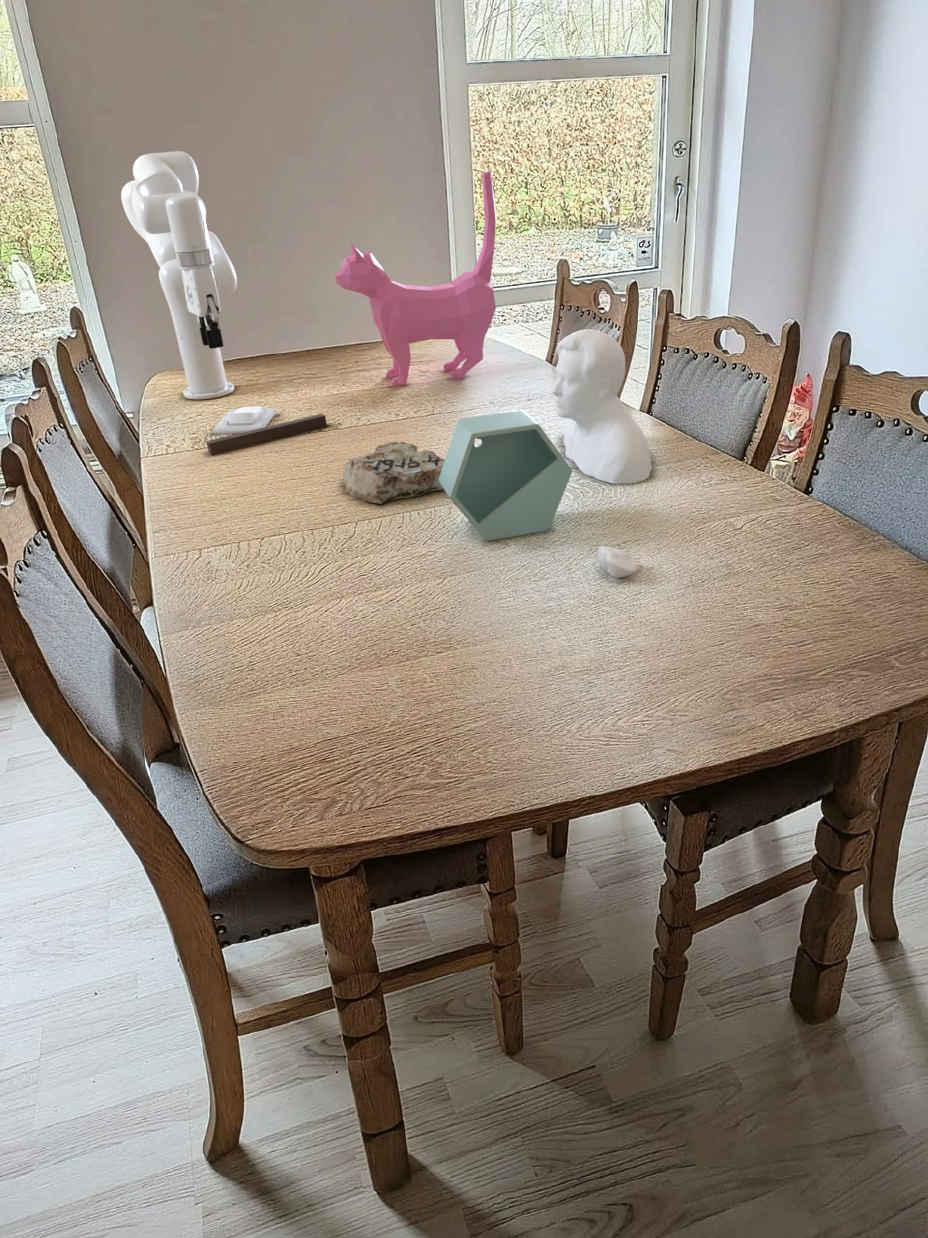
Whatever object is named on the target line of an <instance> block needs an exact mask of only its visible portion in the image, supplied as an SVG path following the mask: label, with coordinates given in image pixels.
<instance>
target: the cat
mask: <svg viewBox="0 0 928 1238" xmlns="http://www.w3.org/2000/svg"><path fill="white" fill-rule="evenodd" d="M481 181H482V196H483V197H482V198H483V213H484V227H483V237H482V247H481V250H480V252H479V256H478V259H477V261H476V264H475V266H474V268H473V270H472V271H465V272H463V273H461V274H459V276H457V277H456V278H454V279H453V280H451V281H450V282H448V283H442V284H437V285H430V286H423V285H411V284H402V283H399V282H396V281H394V280H391V278H390V277H389V276H388V274H387V273H386V271H385V270H384V269H383V267H382V266H381V264H380V263H379V262H378V260H377V259H376V258H375V256H374V255H373V253H372V252H369V251H366V252H361V251H360V250H359V249H358V248H356V246H355V245H353V243H352V242H350V250H351V255H348V256H345V257H344V258H343V261H342V263H341V267H340V269H339V270H338V272H337V273H336V274H335V275H334V279H335V282H336V284H337V285H338V286H339V287H340V288H342V289H344V290H347V291H351V292H354V293H359V294H362V295H364V296H365V297H367V298H368V300H369V304H370V309H371V314H372V319H373V322H374V324H375V326H376V328H377V330H378V331H379V334H380V336H381V339H382V342H383V345H384V347H385V350H386V352H388V354H389V355H390V356H391V358H392V359H393V363H392V364H393V365H392V368H389V369H387V371H386V373H385V378H386V379H391V382H390V387H398V386H399V387H400V386H407V385H408V384H407V383H408V377H409V372H410V371H409V370H410V365H411V359H412V356H411V349H410V344H413V343H419V342H425V341H430V340H453V341H454V344H455V347H456V349H457V351H458V353H457V354H456V356H455V357H454V358H453V360H450V361H447V362H445V363H444V364H442V368H443V371H444V373H445V372H446V373H447V372H450V379H451V380H452V381H453V380H463V379H464V378H465V377H466V375H467V374H468V373H469V371H470V370H472V369H473V368H474V367H476V365H478V364H479V363H480V362H482V361H483V360H484V350H483V348H484V344H485V337H486V335H487V333H488V331H489V329H490V326H491V324H492V321H493V318H494V316H495V312H496V309H497V307H496V306H497V305H496V299H495V294H494V293H495V292H494V287H493V286H492V283H491V278H492V269H493V261H494V253H495V240H496V229H497V212H496V211H497V210H496V204H495V196H494V188H493V179H492V172H491V170H487V171H485V172H482V174H481ZM461 363H463V364H462V366H461V367H460V368H458V367H459V366H460V364H461Z"/></svg>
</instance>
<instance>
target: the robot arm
mask: <svg viewBox="0 0 928 1238" xmlns="http://www.w3.org/2000/svg"><path fill="white" fill-rule="evenodd" d="M132 175H133V178H134V180H131V181H128V182H127V183H126V184H124V186H123V187H122V189H121V191H120V194H121V195H120V198H121V203H122V207H123V210H124V213H125V215H126V217H127V219H128V221H129V223H130V224H131V225H132V227H133V229H134V231H135V232H136V233H137V234H138V235H139V236H140V237H141V238H142V239H143V240H144V241H145V242H146V243H147V245H148V247H149V249H150V251H151V253H152V255H153V258H154V259H155V261H156V264H157V265H158V267H159V270H158V278H159V283H160V286H161V289H162V291H163V294H164V296H165V299H166V302H167V305H168V307H169V310H170V315H171V319H172V322H173V326H174V331H175V336H176V339H177V343H178V349H179V354H180V358H181V362H182V366H183V370H184V375H185V380H186V382H187V387H186V388H184V389H183V391H182V395H183V397H184V398H186V399H190V400H209V399H210V400H211V399H215V398H220V397H224V396H227V395H229V394H231V393H232V392H234V391H235V384H234V383H232V382H230V381H227V376H226V371H225V367H224V362H223V357H222V352H221V348H222V347H224V341H223V336H222V331H221V326H220V316H219V315H220V314H221V311H222V307H221V302H220V298H222V297H227V296H230V295H233V293H235V292H236V290H237V287H238V277H237V273H236V270H235V267H234V265H233V263H232V261H231V259H230V256H229V255H228V253H227V251H226V250H225V248H224V247H223V245H222V243H221V241H220V239H219V237H218V236H217V235H216V234H215V233H214V232H212V231H210V230H208V225H207V221H206V220H207V209H206V206H205V205H206V204H205V202H204V201H203V199H202V198H201V197H200V196H199V195H198V193H199V186H200V177H199V171H198V167H197V164H196V162H195V161H194V159H193V157H191V155H190V154H189V153H187V152H185V151H183V150H182V151H180V150H177V151H165V152H164V151H163V152H151V153H145V154H143V155H140V156H139V157H138V158H136V160H134V163H133V166H132Z"/></svg>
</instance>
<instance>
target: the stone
mask: <svg viewBox="0 0 928 1238" xmlns="http://www.w3.org/2000/svg"><path fill="white" fill-rule="evenodd" d="M444 461H445V458H442V457H440V456H438V455H437V454H436V453H435V451H434V450H428V449H424V450H422V451H418V446H416V445H415V444H413V443H407V442H405V441H401V442H398V441H388V442H385V443H383V444H379V445H377V446H376V447H375V449H374V451H373V452H371V453H368V454H365V455H362V456H358V457H353V458H350V459H349V460H348V461H347V462H346V464H345V466H344V468H343V469H344V470H343V479H342V480H343V485H344V487H345V493H347V494H349V495H350V496H351V497H354V498H358V499H360V500H362V501H363V502H366V503H371V504H378V505H384V504H385V503H387V502H390V501H394V500H398V499H406V498H412V497H419V496H423V495H424V494H429V493H431V492H435V491H436V492H437V491H445V490H444V489H443V487H442V486H441V484H440V482H439V481H438V479H439V476H440V473H441V470H442V467H443V464H444Z"/></svg>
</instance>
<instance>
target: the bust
mask: <svg viewBox="0 0 928 1238" xmlns="http://www.w3.org/2000/svg"><path fill="white" fill-rule="evenodd" d="M556 350H557V351H556V353H557V356H558V357H557V358H558V361H557V364H556V366H555V371H554V372H555V375H556V383H555V385H554V386H553V388H552V391H551V394H553V395H554V396H555V400H554V401H555V405H556V413H557V414H556V415H557V416H558V417H560V418H563V419H568V421H567V422H566V424H565V426H564V431H563V447H564V448H565V453H564V454H565V457H566V458H567V459H569V460H571V461H572V462H574V464H575V465H576V467H578V469H579V470H580V471H581V472H582V473H583V474H585V475H586V476H589V477H593V478H595V479H596V480H599V481H601V482H607V483H609V484H613V485H614V484H616V485H617V484H619V485H620V484H621V485H622V484H624V485H625V484H627V485H628V484H634V483H635V484H636V483H639V482H643V481H645V480H646V479H648V478H649V477H650V475H651V471H652V470H653V469H652V468H653V467H652V459H651V453H650V448H649V444H648V441H647V438H646V435H645V434H644V431H643V430H642V428H641V427H640V425H639V424H638V422H637V421H636V420H635V419H634V417H633V416H632V414H631V413H630V411H628V410H627V409H626V407H625V406H624V404H623V402H622V400H621V398H620V397H618V395H619V391H620V390H621V387H622V385H623V382H624V379H625V375H626V356H625V353H624V350H623V348H622V346H621V344H620V343H619V342H618V341H617V340H616V339H615V338H614V337H613V336H611V335H610V334H608V333H606V332H603V331H601V330H597V329H591V328H585V329H580V330H577V331H574V332H572V333H571V334H569V335H567V336H565V337H563V339H562V340H560V341H559V342H558V344H557V349H556Z"/></svg>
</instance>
